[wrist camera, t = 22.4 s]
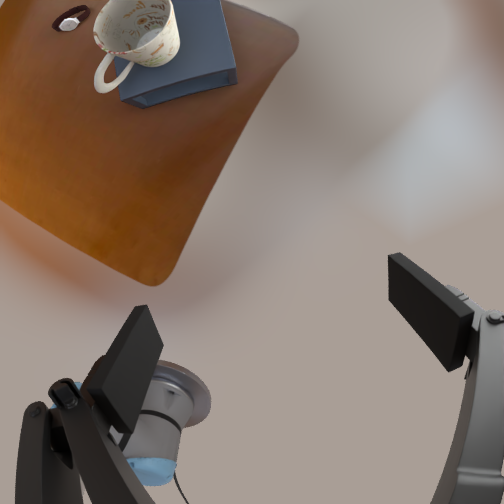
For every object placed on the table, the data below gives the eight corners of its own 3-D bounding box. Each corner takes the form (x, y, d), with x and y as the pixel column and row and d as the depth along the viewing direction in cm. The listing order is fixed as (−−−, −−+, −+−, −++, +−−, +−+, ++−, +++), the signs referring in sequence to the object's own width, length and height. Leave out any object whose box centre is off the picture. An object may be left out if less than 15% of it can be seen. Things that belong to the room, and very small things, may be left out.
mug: (202, 35, 29) (189, 1, 19) (142, 114, 32) (108, 104, 23) (153, 12, 27) (129, -22, 18) (97, 87, 30) (56, 73, 21)
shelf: (237, 83, 39) (236, 67, 31) (142, 109, 40) (120, 100, 31) (219, 5, 34) (214, -22, 26) (129, 31, 35) (108, 11, 26)
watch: (57, 38, 33) (47, 33, 30) (58, 19, 32) (48, 14, 28) (91, 22, 33) (82, 15, 30) (92, 3, 32) (84, -4, 28)
